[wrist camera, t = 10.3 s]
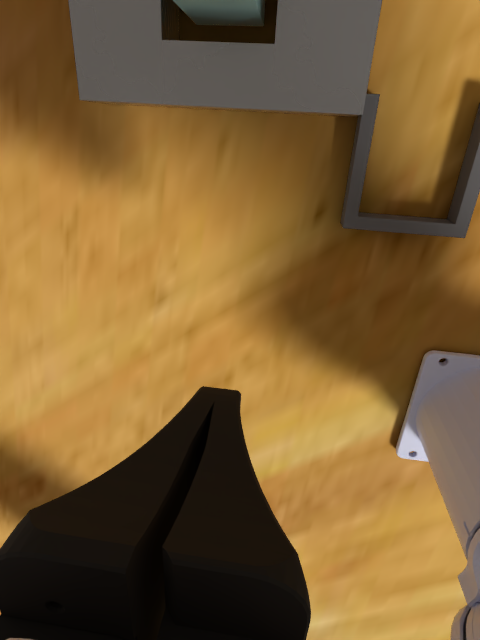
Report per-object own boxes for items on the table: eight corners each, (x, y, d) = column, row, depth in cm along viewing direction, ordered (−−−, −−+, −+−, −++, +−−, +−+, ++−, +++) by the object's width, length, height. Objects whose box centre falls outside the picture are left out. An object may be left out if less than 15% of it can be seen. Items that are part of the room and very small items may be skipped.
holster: (494, 102, 17) (507, 100, 16) (455, 232, 20) (464, 238, 18) (361, 96, 18) (365, 93, 17) (340, 222, 20) (342, 228, 19)
